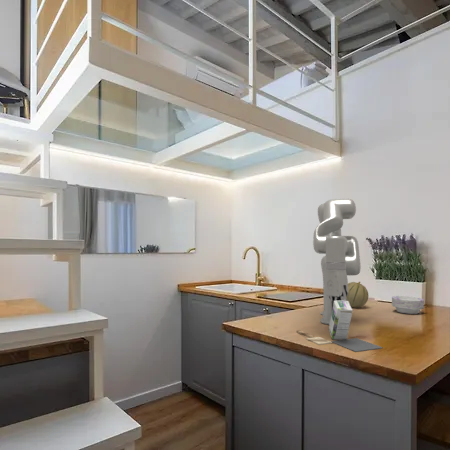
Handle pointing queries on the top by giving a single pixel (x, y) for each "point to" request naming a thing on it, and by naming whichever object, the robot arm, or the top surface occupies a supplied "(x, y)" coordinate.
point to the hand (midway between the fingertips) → (336, 313)
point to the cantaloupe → (357, 294)
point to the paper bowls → (407, 304)
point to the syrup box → (340, 320)
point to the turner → (314, 338)
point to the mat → (356, 345)
